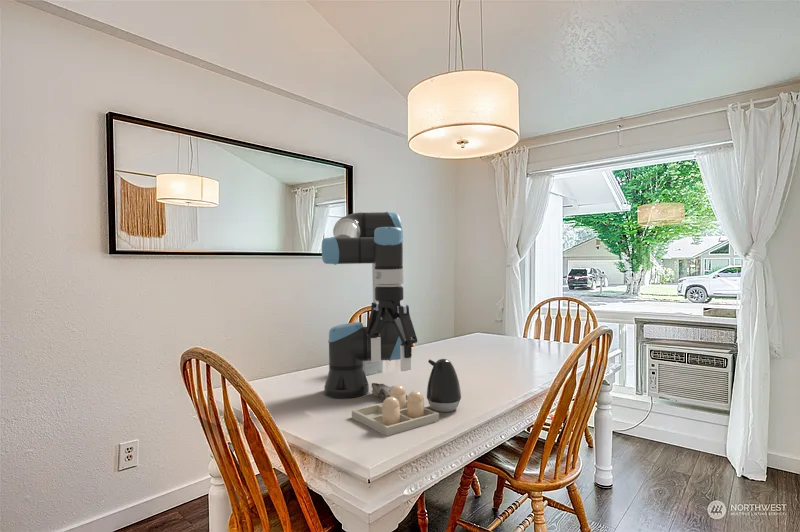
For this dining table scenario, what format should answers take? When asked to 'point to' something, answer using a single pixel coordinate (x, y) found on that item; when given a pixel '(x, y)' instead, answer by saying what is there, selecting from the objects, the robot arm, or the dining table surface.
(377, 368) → the supplement box
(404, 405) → the beige domed cylinder
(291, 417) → the dining table surface
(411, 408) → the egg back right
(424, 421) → the egg tray
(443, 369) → the pump dispenser
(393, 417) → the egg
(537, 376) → the dining table surface
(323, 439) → the dining table surface
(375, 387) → the mineral rock
